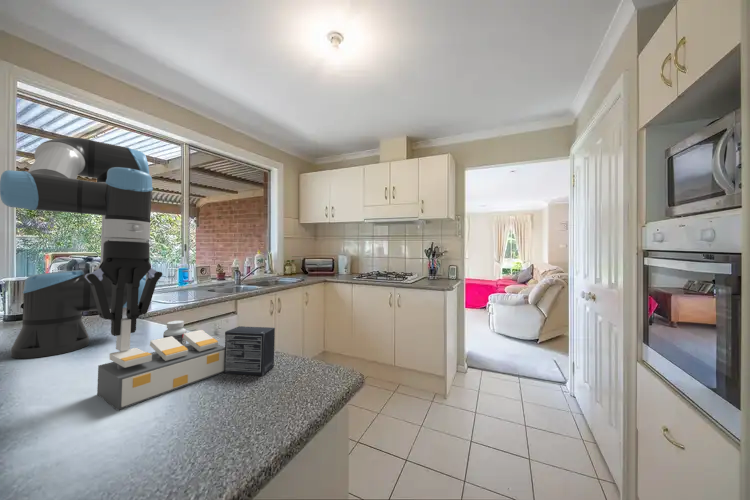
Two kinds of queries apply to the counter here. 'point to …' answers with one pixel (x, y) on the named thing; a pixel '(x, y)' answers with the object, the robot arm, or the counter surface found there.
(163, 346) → the switch
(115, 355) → the switch
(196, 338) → the switch
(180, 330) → the pill bottle
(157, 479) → the counter surface
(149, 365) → the console
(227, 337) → the small box
